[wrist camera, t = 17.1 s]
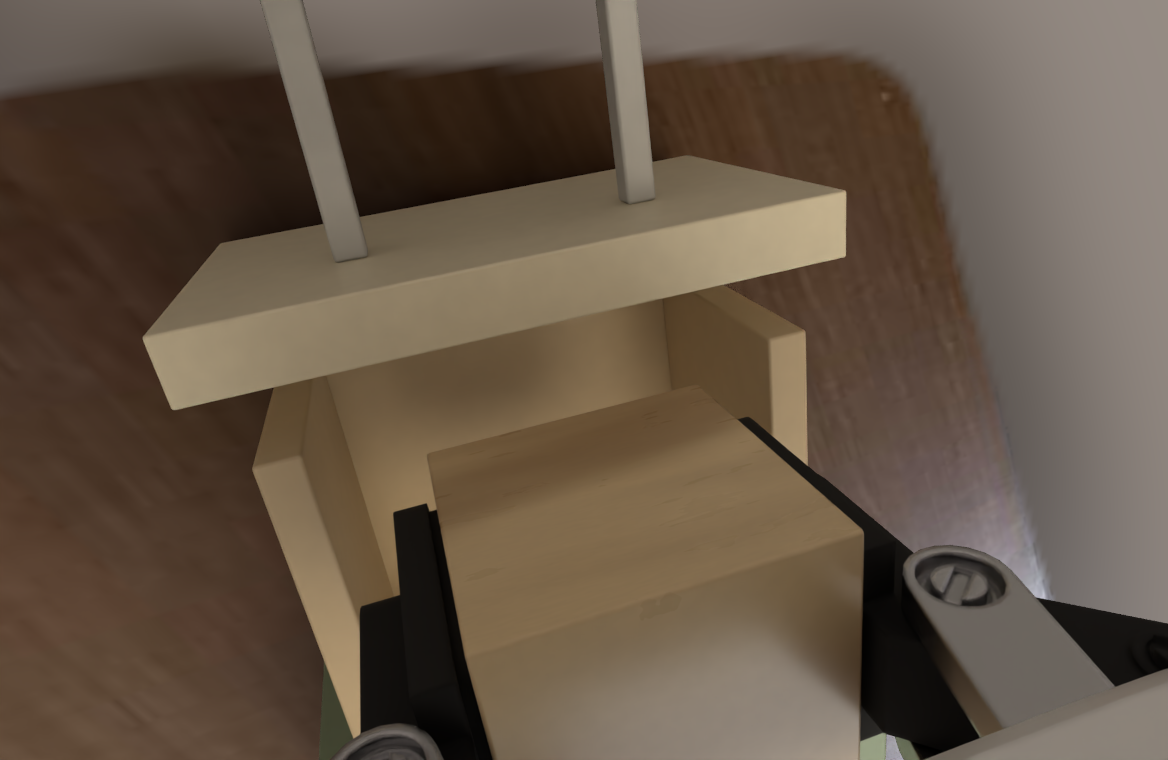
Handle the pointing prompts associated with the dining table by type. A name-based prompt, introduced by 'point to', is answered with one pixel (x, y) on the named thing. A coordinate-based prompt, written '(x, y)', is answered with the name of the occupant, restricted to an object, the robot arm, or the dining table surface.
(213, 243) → the dining table surface
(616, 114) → the drawer
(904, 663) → the robot arm
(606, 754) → the block
